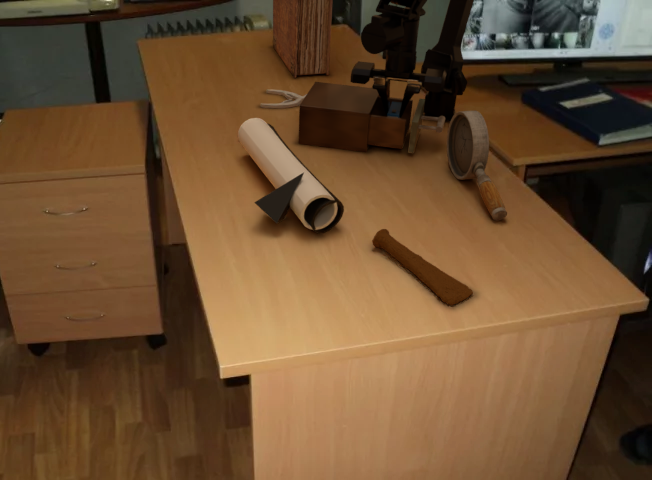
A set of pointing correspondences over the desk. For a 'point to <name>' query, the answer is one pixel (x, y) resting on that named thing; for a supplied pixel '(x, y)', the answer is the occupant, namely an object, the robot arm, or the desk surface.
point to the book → (303, 35)
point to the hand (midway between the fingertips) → (394, 116)
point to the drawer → (399, 125)
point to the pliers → (285, 103)
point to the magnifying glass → (473, 157)
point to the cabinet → (336, 116)
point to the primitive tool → (423, 270)
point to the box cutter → (394, 110)
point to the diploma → (288, 180)
